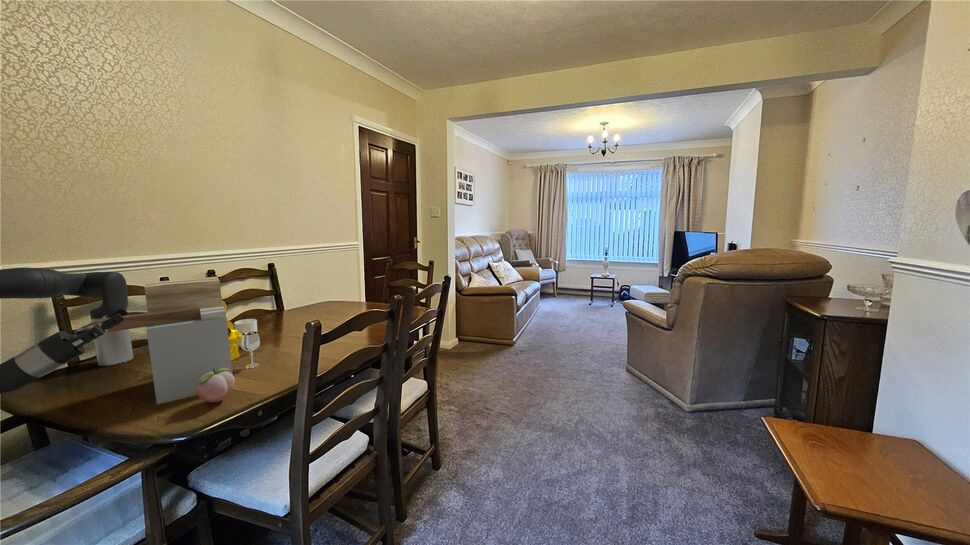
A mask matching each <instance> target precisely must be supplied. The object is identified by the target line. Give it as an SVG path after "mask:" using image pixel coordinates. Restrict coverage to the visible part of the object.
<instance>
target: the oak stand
mask: <svg viewBox="0 0 970 545" xmlns="http://www.w3.org/2000/svg"><path fill="white" fill-rule="evenodd" d="M221 290H222V289H221V281H220V279H219V278H218V276H209V277H198V278H185V279H174V280H173V279H171V280H160V281H159V280H158V281H147V282H146V283H145V285H144V294H145V301H146V307H147V313H152V312H161V311H169V310H177V309H185V308H194V307H200V309H205V308H213V307H221V306H222V301H223V299H222V298H223V297H222V292H221Z"/></svg>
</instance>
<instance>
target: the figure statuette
mask: <svg viewBox="0 0 970 545" xmlns="http://www.w3.org/2000/svg"><path fill="white" fill-rule="evenodd" d="M222 306H223V307H224V309H225V311H226V313H227V312H228V307H227V306H228V305H227V304H226V302H225V301H224V300H222ZM227 326H228V336H229V345H230V354H231V362H232V361H233V360H234V361H235V359H238V358H240V353H239V348H240V347H239V346H238V340H237V339H239V340H241V335H242V334H241V333H239V332H238V331H237V330H235V325H234V323H233V322H231V321H230V320H229V319H228V318H227Z"/></svg>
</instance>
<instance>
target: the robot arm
mask: <svg viewBox="0 0 970 545" xmlns="http://www.w3.org/2000/svg"><path fill="white" fill-rule="evenodd" d="M127 285H128V284H127V280H126V278H125V277H124V275H123V274H122V273H120V272H117V271H91V272H77V273H75V272H73V273H69V272H68V273H66V272H62V271H59V270H55V269H51V268H44V267H43V268H42V267H29V266H28V267H22V266H21V267H9V268H2V269H0V299H2V300H3V299H4V300H5V299H28V300H29V299H32V300H33V299H50V298H56V297H61V296H62V297H63V296H75V297H84V298H95V299H97V298H100V299H101V298H102V301H101V305H100V306H98V307H94V308H92V309H91V310H90V311H89V316H90V321H91V322H89V323H88V324H87V323H86V324H85V325H82V326H80V327H79V328H77V329H76V331H74V334H73V335H72V334H69V333H68V332H67V331H62V330H61V331H57V332H56V333H54V334H52V335H49V336H48V337H46V338H44V339H42V340H40V341H38V342H37V343H35V344H33V345H31V346H29V347H27V348H25V349H24V350H22V351H21V352H20V353H18V354H16V355H15V356H12V357H11V358H9V359H7V360H5V361H4V362H2V363H0V395H1V394H5V393H10V392H14V391H18V390H20V389H22V388H24V387H25V386H27V385H29V384H31V383H32V382H34V381H36V380H38V379H39V378H42V377H44V376H45V375H47V374H49V373H51V372H54V371H55V370H57V369H60V367H62V366H65V365H66V364H68V363H69V362H71V361H73V360H75V359H76V358H78V357H80V356H82V355H83V354H84V353H85V348H84V346H85V345H87V344H90V343H92V342H93V341H94V347H95V353H96V359H97V365H98V366H103V367H104V366H113V365H119V364H123V363H127V362H128V361H131V360H133V359H134V353H133V352H134V351H133V346H132V345H133V344H132V338H131V332H130V329H126V330H119V331H112V332H107V331H108V330H109V329H110V328H112V327H114V326H115V325H117V324H119V323H121V322H123V321H124V318H123V317H122V316H127V315H129V313H128V311H127V310H128V309H127V308H128V305H129V298H128V286H127ZM103 318H109V319H107V320H105V321H104V322H102V323H103V324H102V323H98V324H97V325H94V323H93V322H94V320H95V319H103ZM122 362H123V363H122ZM118 363H119V364H118Z"/></svg>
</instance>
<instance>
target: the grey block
mask: <svg viewBox="0 0 970 545" xmlns="http://www.w3.org/2000/svg"><path fill="white" fill-rule="evenodd" d="M227 319H228V318H227V316H226V317H225V318H218V319H211V320H204V321H201V319H199V320H191V321H184V322H177V323H170V324H162V325H155V326H148V327H145V329H146V336H147V337H146V338H147V343H148V350H149V351H148V352H149V358H150V365H151V372H152V379H153V385H154V386H153V388H154V393H155V394H154V395H155V399H156V400H155V401H156V405H157V404H158V405H161V403H162V404H166V403H169V402H174V401H178V400H182V399H186V398H191V397H195V396H198V394H197V392H196V389H195V387H196V383H197V382H198V380H199V379H200V378H201V377H202V376H203V375H205V374H207V373H209V372H213V369H215V370H217V369H220V368H228V369H230V370H226V371H227V372H230V373H231V374H232V375H233V376H234V374H233V365H232V364H233V363H232V361H231V354H230V345H229V336H228V326H227ZM165 402H166V403H165Z"/></svg>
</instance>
